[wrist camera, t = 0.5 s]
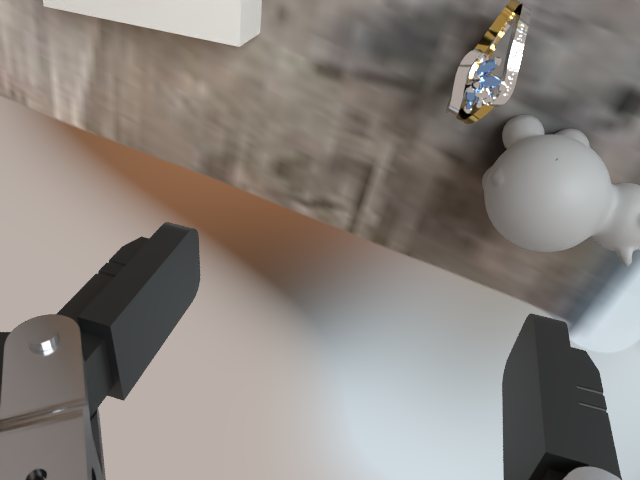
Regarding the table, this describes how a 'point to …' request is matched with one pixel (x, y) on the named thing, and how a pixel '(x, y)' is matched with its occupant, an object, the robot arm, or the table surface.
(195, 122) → the table surface
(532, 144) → the chubby cartoon animal
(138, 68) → the table surface
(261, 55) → the table surface
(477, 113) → the ring
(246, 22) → the socket
